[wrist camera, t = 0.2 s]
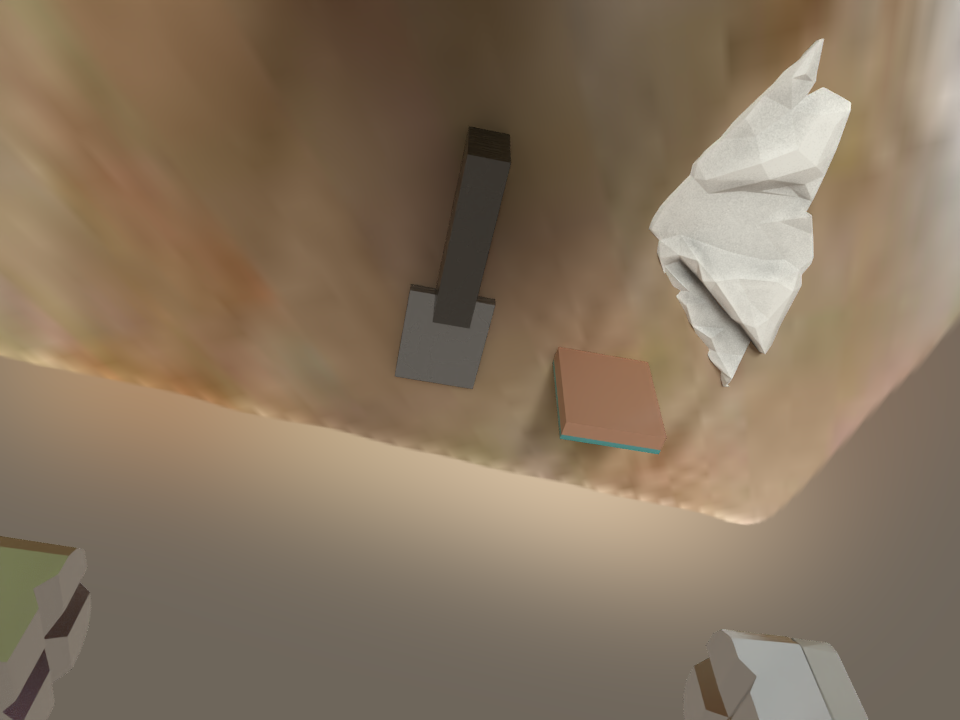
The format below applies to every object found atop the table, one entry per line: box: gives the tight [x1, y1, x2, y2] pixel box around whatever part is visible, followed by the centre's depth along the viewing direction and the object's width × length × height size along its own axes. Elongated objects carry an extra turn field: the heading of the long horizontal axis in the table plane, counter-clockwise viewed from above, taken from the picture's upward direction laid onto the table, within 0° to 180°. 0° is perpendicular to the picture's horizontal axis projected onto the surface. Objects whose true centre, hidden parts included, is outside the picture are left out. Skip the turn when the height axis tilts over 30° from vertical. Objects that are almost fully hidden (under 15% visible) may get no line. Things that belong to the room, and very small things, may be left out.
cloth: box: [649, 39, 851, 387], centre depth 50 cm, size 26×14×2 cm, turn 168°
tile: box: [553, 347, 667, 454], centre depth 54 cm, size 2×7×8 cm, turn 78°
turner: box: [395, 126, 511, 389], centre depth 51 cm, size 20×6×4 cm, turn 168°
